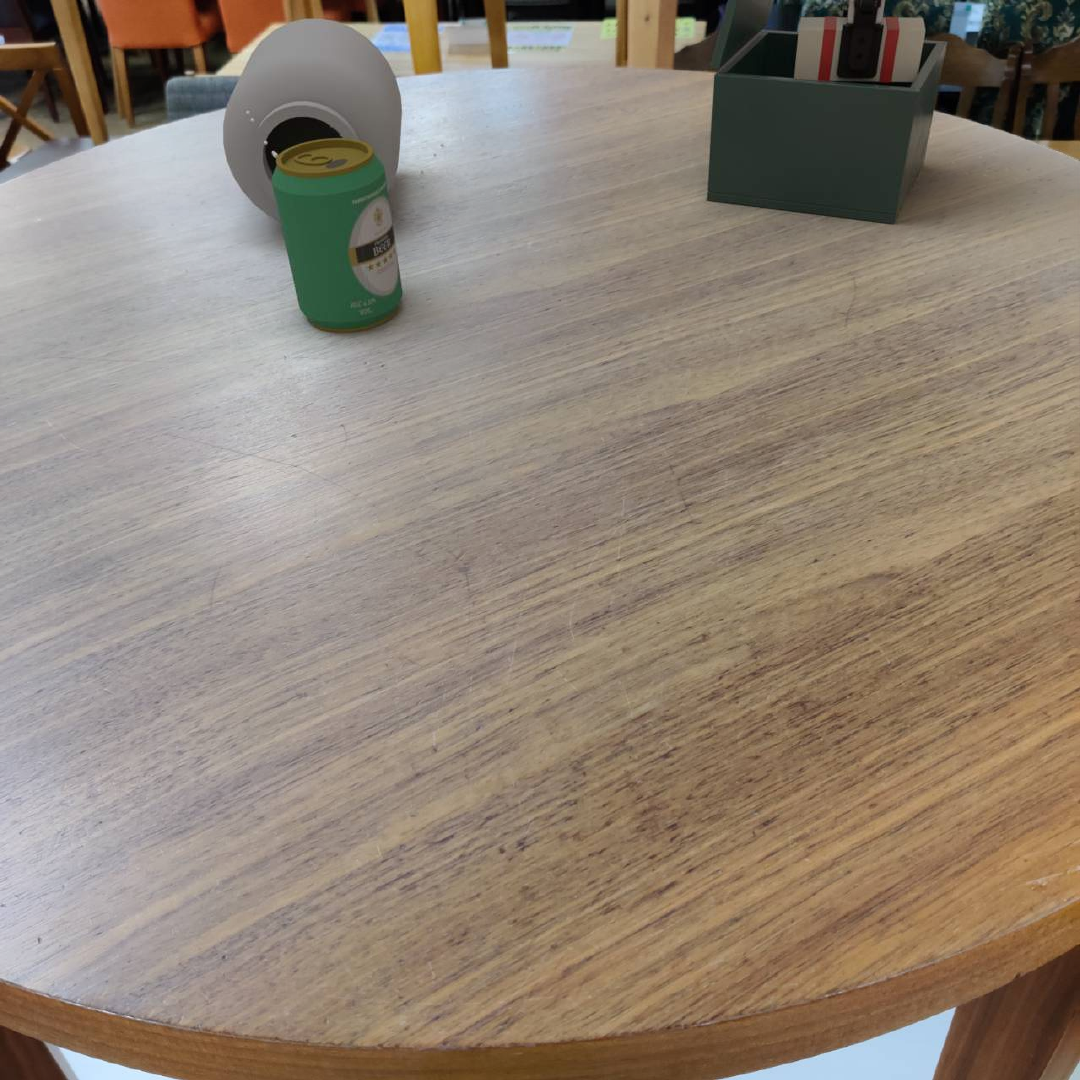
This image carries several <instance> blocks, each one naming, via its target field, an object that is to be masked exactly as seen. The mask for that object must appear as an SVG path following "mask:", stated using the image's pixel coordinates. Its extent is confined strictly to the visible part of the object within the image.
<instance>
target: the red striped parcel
mask: <svg viewBox="0 0 1080 1080" xmlns="http://www.w3.org/2000/svg"><path fill="white" fill-rule="evenodd" d="M846 23H847V17H843V16H842V17H839V16H838V17H837V16H822V17H821V16H817V17H815V16H809V17H808V16H801V17H800V20H799V27H798V32H799V34H798V43H797V53H796V62H795V72H794V78H796V79H808V80H820V81H873V82H886V83H891V82H914V80H915V79H916V77H917V75H918V69H919V64H920V58H921V53H922V47H923V42H924V40H925V35H926V27H925V21H924V18H923V17H899V16H886V17H883V19H882V25H884V28H883V35H882V41H881V48H880V54H879V61H878V67H877V73H876V76H875V77H874V78H839V77H838V76H837V66H838V59H839V51H840V43H841V36H842V28H843V24H846Z"/></svg>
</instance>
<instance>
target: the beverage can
mask: <svg viewBox="0 0 1080 1080" xmlns="http://www.w3.org/2000/svg"><path fill="white" fill-rule="evenodd" d="M276 164H277V166H276V168H275V171H274V174H273V177H272V186H273V191H274V195H275V200H276V204H277V209H278V213H279V218H280V221H279V222H280V226H281V231H282V235H283V240H284V244H285V249H286V253H287V256H288V258H287V259H288V262H289V267H290V272H291V277H292V281H293V284H294V290H295V294H296V298H297V303H298V307H299V309H300V312H301V313H303V315H305V316H306V317H307V319H308V321H309V323H311V325H313V326H314V327H315V328H317V329H319V330H323V331H326V332H334V333H353V332H361V331H365V330H370V329H372V328H375V327H378V326H381V325H382V324H385V323H386V322H388V321H389V320H391V319H392V318H393V317H394V316H395V315H396V314H397V312H398V311H399V304H400V302H401V300H402V297H403V295H404V294H403V293H404V292H403V291H404V290H403V286H402V278H401V272H400V264H399V259H398V258H399V257H398V251H397V245H396V237H395V231H394V225H393V223H394V222H393V218H392V211H391V205H390V197H389V192H388V190H387V183H386V176H385V169H384V165H383V164H382V163H381V161H380V160H379V159H378V158H377V156H376V155H375V154H374V153H373V148H372V147H371V145H369V144H368V143H366V142H363V141H360V140H355V139H347V138H331V139H320V140H314V141H309V142H305V143H301V144H298V145H295V146H292V147H290V148H288V149H286V150H284V151H283V152H282V153H280V154H279V155H278V156H277V158H276Z"/></svg>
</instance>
